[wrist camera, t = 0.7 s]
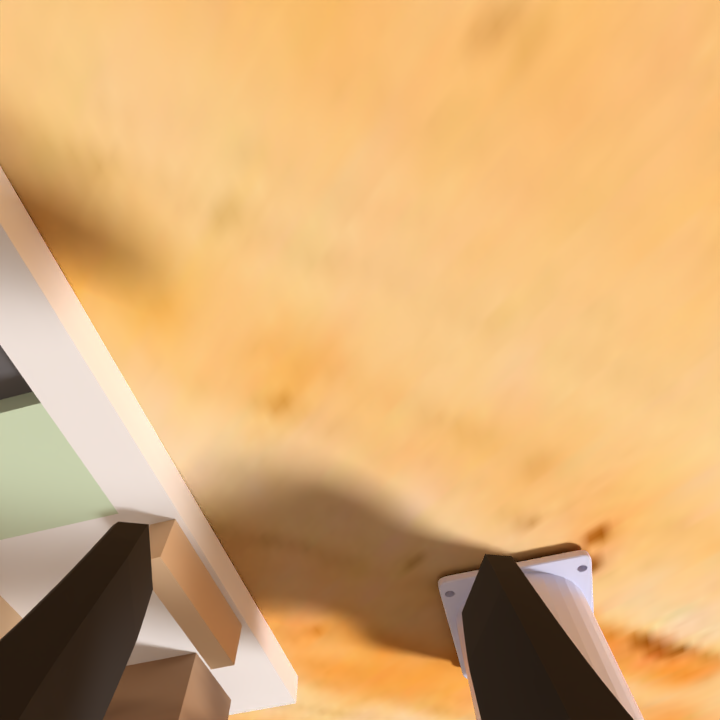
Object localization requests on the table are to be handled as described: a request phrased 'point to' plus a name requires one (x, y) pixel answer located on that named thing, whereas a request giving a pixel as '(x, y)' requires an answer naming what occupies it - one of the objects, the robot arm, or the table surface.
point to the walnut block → (169, 692)
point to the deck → (106, 483)
